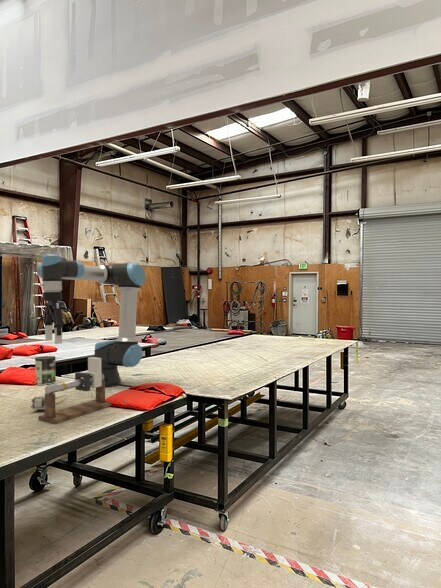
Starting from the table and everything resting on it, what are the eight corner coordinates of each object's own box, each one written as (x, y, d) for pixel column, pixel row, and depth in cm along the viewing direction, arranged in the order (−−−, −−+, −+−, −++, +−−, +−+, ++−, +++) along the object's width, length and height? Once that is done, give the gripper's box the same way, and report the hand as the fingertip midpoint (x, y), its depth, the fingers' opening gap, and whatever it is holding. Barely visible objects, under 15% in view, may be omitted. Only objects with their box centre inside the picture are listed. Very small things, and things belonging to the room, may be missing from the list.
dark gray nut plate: (78, 388, 170) (78, 372, 170) (90, 390, 166) (90, 373, 166) (75, 389, 168) (75, 372, 168) (86, 391, 164) (86, 374, 164)
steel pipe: (99, 380, 177) (99, 372, 177) (104, 381, 175) (104, 373, 175) (44, 394, 154) (44, 385, 154) (50, 395, 152) (50, 386, 152)
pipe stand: (95, 402, 179) (95, 379, 179) (111, 405, 174) (111, 381, 174) (38, 419, 155) (38, 392, 155) (55, 424, 150) (54, 396, 150)
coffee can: (58, 380, 224) (58, 355, 224) (50, 385, 214) (50, 358, 214) (40, 381, 225) (40, 356, 225) (31, 385, 214) (31, 359, 214)
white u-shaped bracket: (92, 384, 175) (91, 357, 175) (101, 386, 172) (101, 358, 172) (84, 386, 171) (84, 358, 171) (94, 387, 168) (93, 359, 168)
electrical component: (55, 405, 188) (56, 394, 189) (68, 404, 188) (69, 393, 189) (30, 409, 164) (31, 397, 165) (44, 409, 164) (45, 397, 165)
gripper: (34, 291, 176) (36, 340, 176) (51, 291, 156) (53, 345, 157) (52, 291, 180) (54, 338, 181) (71, 291, 161) (72, 343, 161)
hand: (53, 342), depth 169 cm, fingers open, 13 cm apart
